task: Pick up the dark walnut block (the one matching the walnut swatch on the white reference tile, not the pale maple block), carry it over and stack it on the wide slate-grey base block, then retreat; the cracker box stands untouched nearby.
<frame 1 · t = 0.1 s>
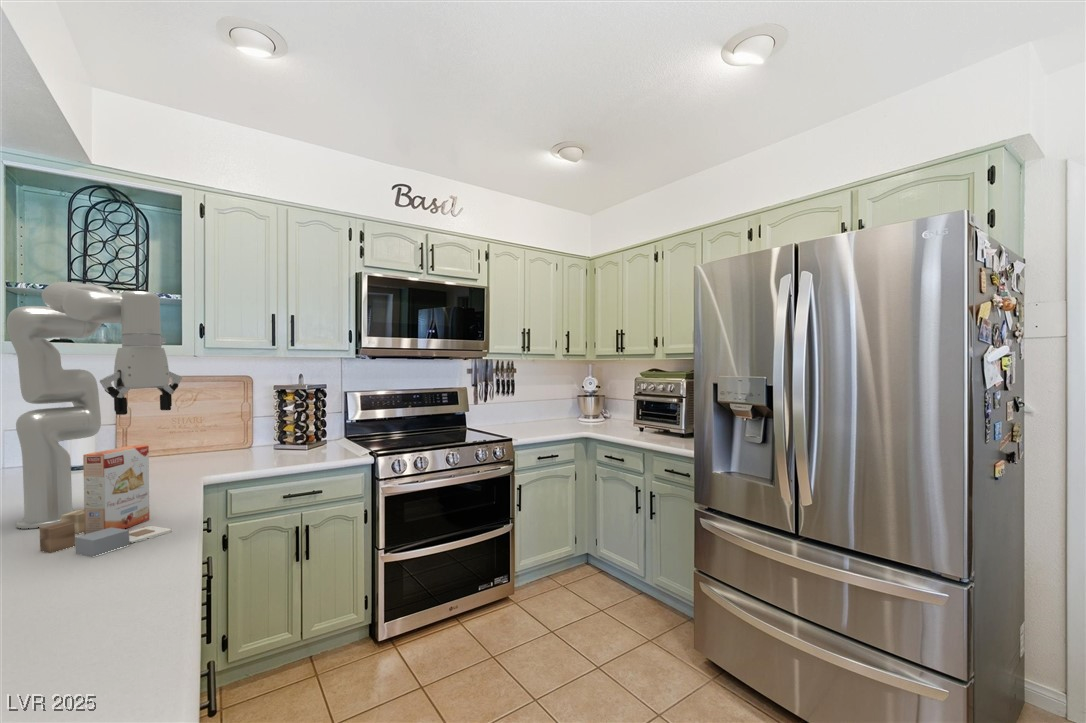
hand: (144, 412, 122), 31 cm above the counter, tool pointing down, fingers open, 9 cm apart
maple block: (78, 531, 130), on the counter
base block: (103, 550, 116), on the counter
walnut block: (58, 548, 117), on the counter
reference tile: (141, 535, 125), on the counter
cracker box: (119, 528, 132), on the counter
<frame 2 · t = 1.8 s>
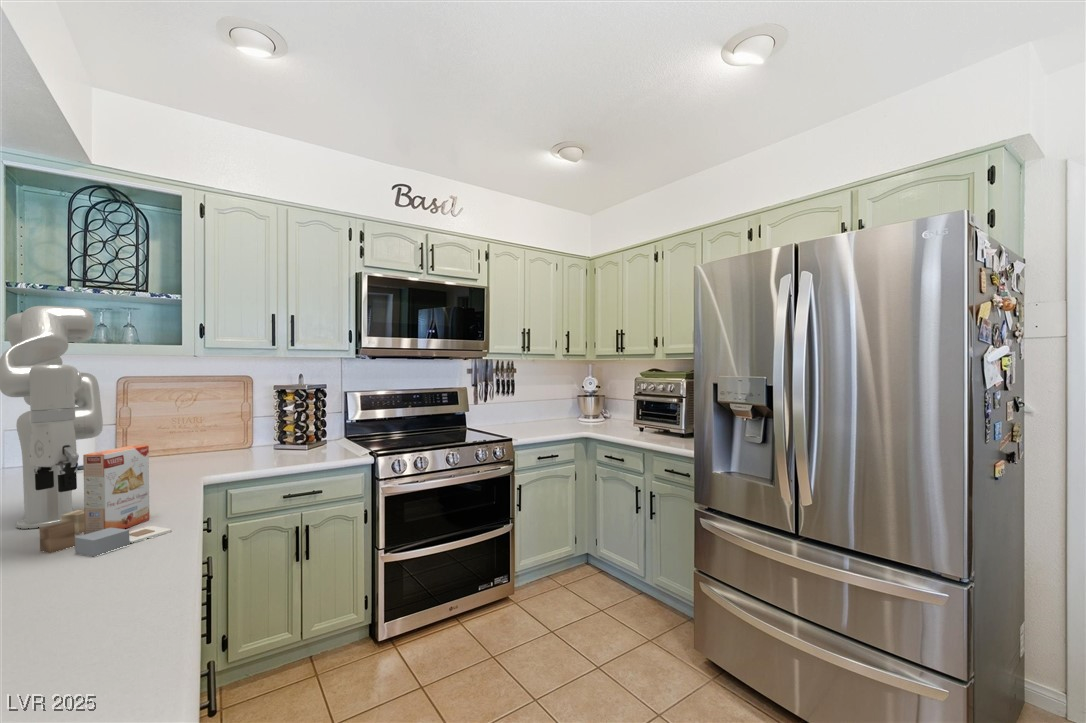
hand: (56, 489, 117), 14 cm above the counter, tool pointing down, fingers open, 9 cm apart
nothing on the counter moved.
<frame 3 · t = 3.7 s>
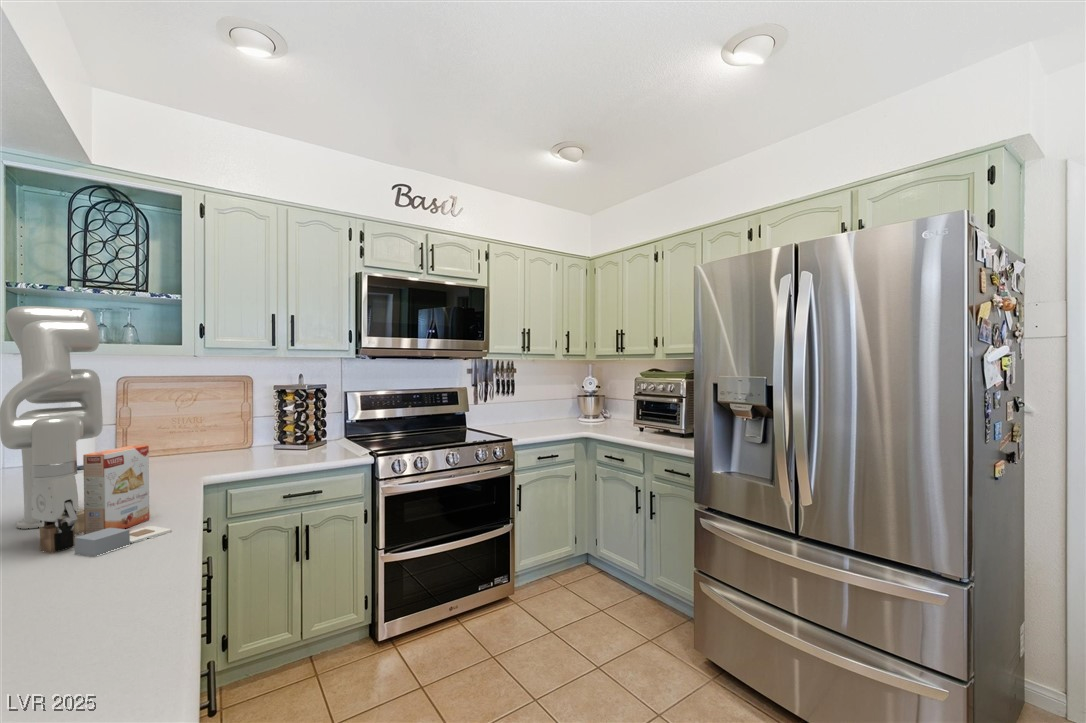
hand: (58, 546, 117), 0 cm above the counter, tool pointing down, fingers closed on walnut block, 4 cm apart
walnut block: (58, 548, 117), on the counter, touching gripper
everything else where it was.
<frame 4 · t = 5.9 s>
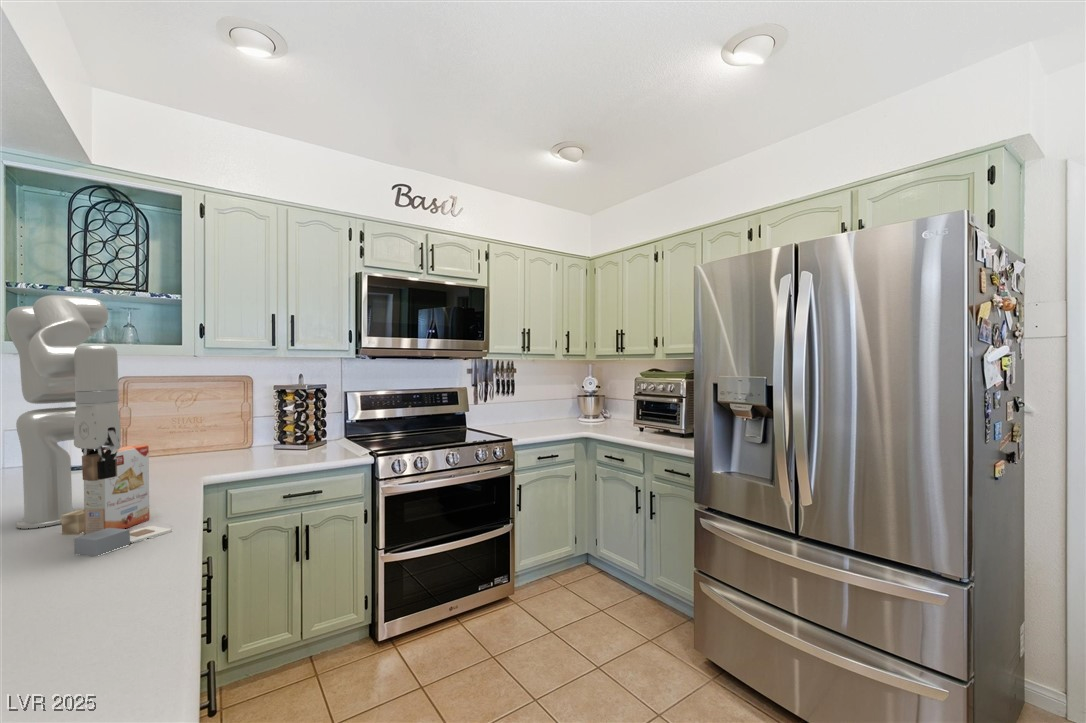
hand: (100, 476, 116), 17 cm above the counter, tool pointing down, fingers closed on walnut block, 4 cm apart
walnut block: (100, 478, 116), point 17 cm above the counter, touching gripper
everything else where it was.
when the fingers open (5 cm above the counter, at t = 8.3 s): walnut block drops 1 cm, resting on base block.
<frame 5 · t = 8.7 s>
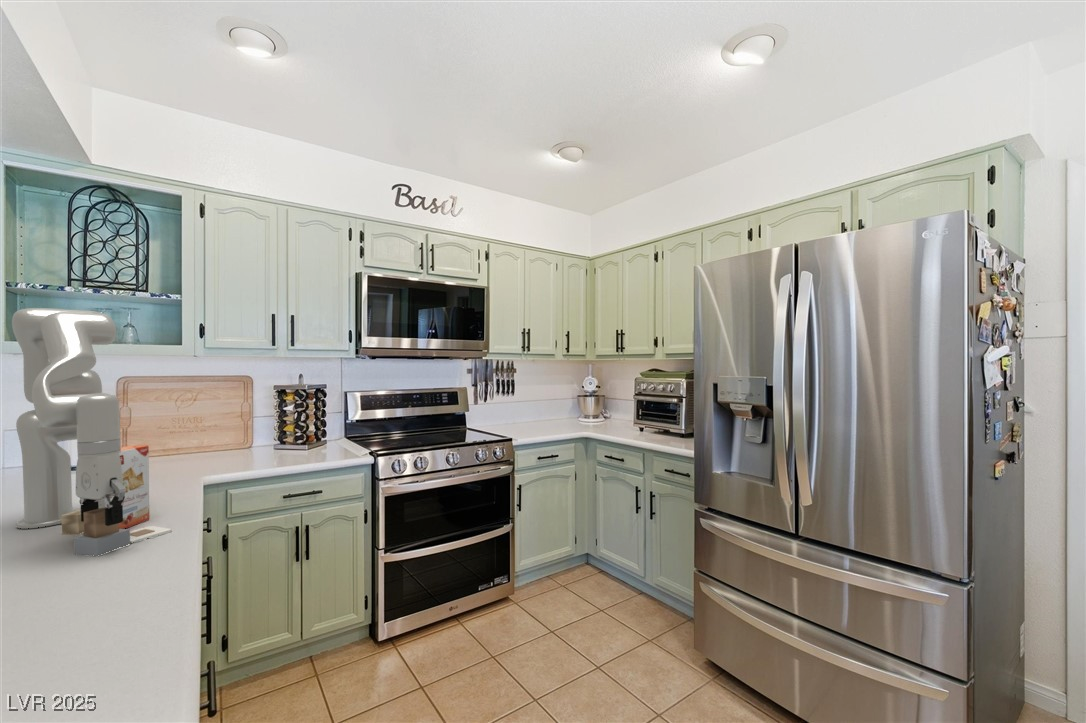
hand: (102, 521, 116), 6 cm above the counter, tool pointing down, fingers open, 9 cm apart
base block: (103, 551, 116), on the counter, touching walnut block
walnut block: (101, 533, 116), point 4 cm above the counter, touching base block
everything else where it was.
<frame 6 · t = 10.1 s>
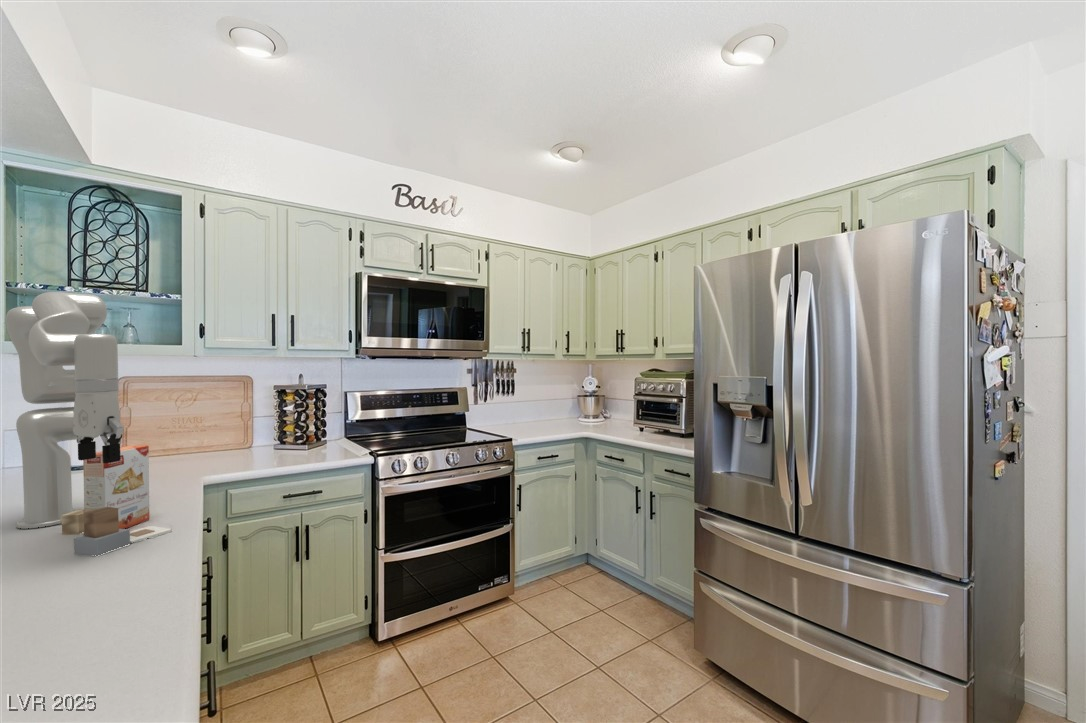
hand: (99, 460, 116), 21 cm above the counter, tool pointing down, fingers open, 9 cm apart
nothing on the counter moved.
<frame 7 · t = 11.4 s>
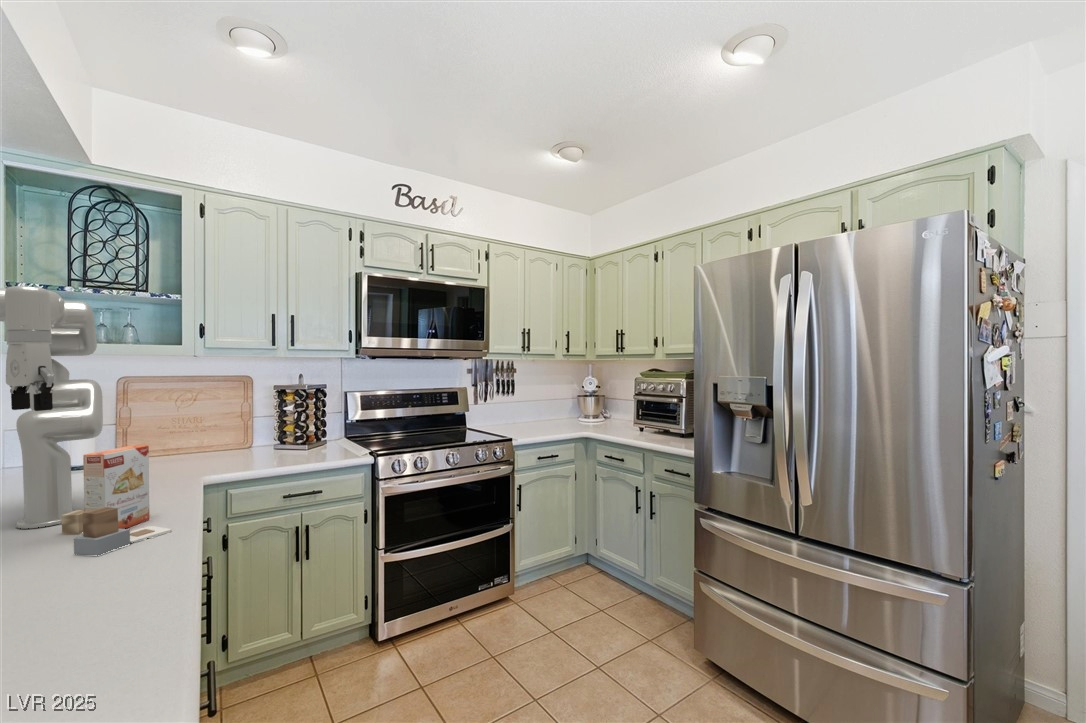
hand: (32, 409, 120), 33 cm above the counter, tool pointing down, fingers open, 9 cm apart
nothing on the counter moved.
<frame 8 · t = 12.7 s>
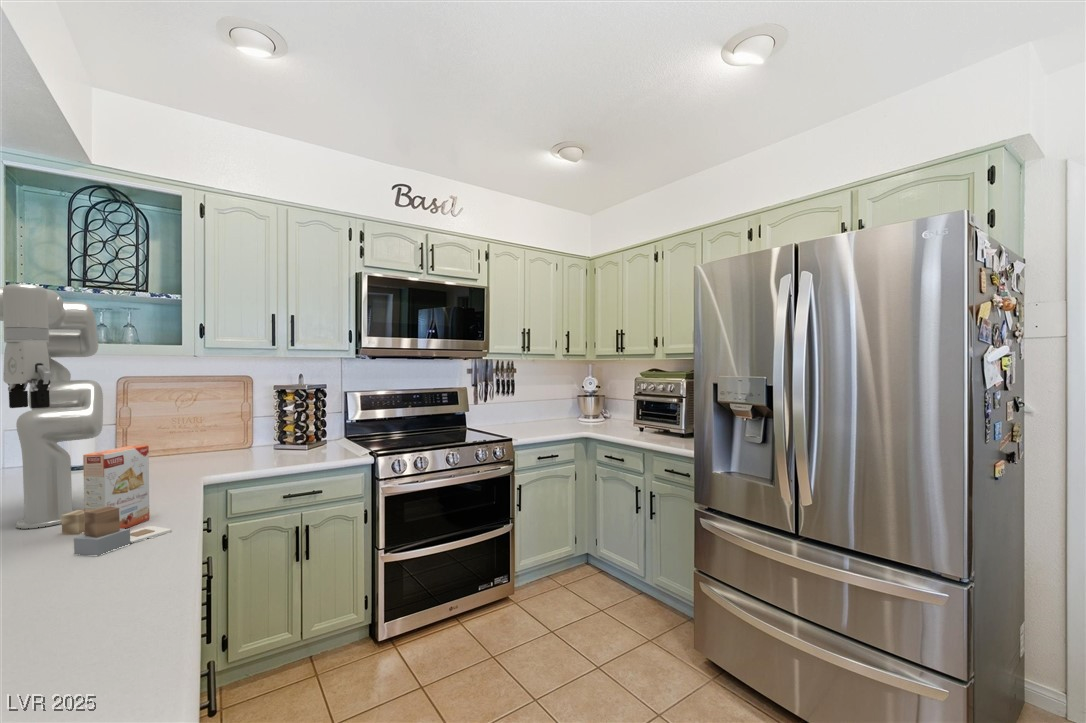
hand: (29, 407, 120), 33 cm above the counter, tool pointing down, fingers open, 9 cm apart
nothing on the counter moved.
at the end: walnut block 0.1 cm off-centre on the base block, point 4.0 cm above the base block's base; walnut block tilted 1°; base block moved 0.4 cm from its start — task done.
